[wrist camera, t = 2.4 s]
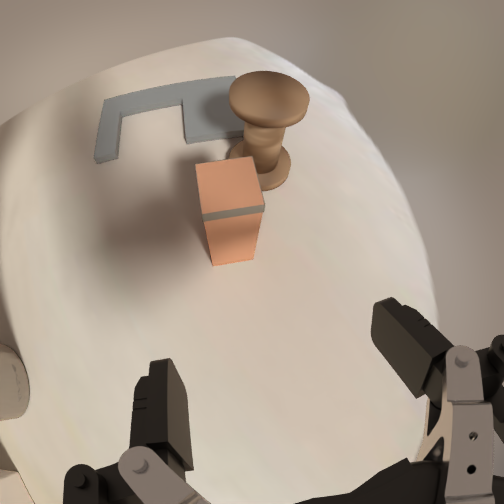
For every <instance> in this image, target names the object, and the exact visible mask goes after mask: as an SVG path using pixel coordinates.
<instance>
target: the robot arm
mask: <svg viewBox="0 0 504 504" xmlns="http://www.w3.org/2000/svg"><path fill="white" fill-rule="evenodd" d="M371 337H372V340H373V343H374V345H375V346H376V347H377V349H378V350H379V351H380V352H381V354H382V355H383V356H384V357H385V359H386V360H387V361H388V363H389V364H390V365H391V366H392V368H393V369H394V370H395V372H396V373H397V374H398V376H399V377H400V378H401V379H402V381H403V382H404V383H405V385H406V386H407V387H408V389H409V390H410V391H411V393H412V394H413V395H414V397H415V398H416V399H417V398H419V397H421V396H422V395H424V394H426V395H427V396H428V399H427V405H426V417H425V427H424V435H423V441H422V445H421V447H420V450H419V453H418V456H417V460H416V462H411V463H410V462H409V461H408V459H407V458H405V459H403V460H401V461H399V462H398V463H396V464H394V465H392V466H390V467H388V468H386V469H384V470H382V471H380V472H378V473H377V474H376V475H374V476H373V477H372V478H370V479H369V480H368V481H366V482H365V483H364V484H362V485H361V486H359V487H358V488H357V489H355V490H354V491H352V492H350V493H347V494H341V495H334V496H327V497H319V498H312V499H309V500H306V501H302V502H299V503H295V504H504V477H500V476H495V475H493V461H494V430H495V431H496V433H497V434H498V436H499V437H500V439H501V440H502V442H503V443H504V387H503V385H502V383H503V381H504V335H498V336H496V337H495V338H494V339H493V341H492V344H491V346H490V347H489V348H485V349H482V350H478V351H474V350H473V349H471V348H469V347H467V346H461V345H460V346H454V345H452V343H451V342H450V341H448V340H447V339H446V338H445V337H444V336H443V335H442V334H441V333H440V332H439V331H438V330H437V329H436V328H435V327H434V326H433V325H431V324H430V322H429V321H428V320H427V319H424V317H423V316H422V315H421V314H420V313H419V312H418V311H417V310H416V309H413V308H411V307H409V306H407V305H403V306H402V305H401V304H400V303H399V302H398V301H397V300H396V299H395V298H393V297H390V298H387V299H384V300H382V301H379V302H376V303H375V304H374V306H373V316H372V325H371ZM28 402H29V383H28V379H27V374H26V372H25V369H24V366H23V364H22V362H21V360H20V358H19V357H18V356H17V354H16V353H15V352H14V351H13V350H12V349H11V348H9V347H8V346H6V345H3V344H0V421H3V420H9V419H15V418H19V417H20V416H22V415H23V414H24V412H25V411H26V409H27V406H28ZM192 470H194V467H193V458H192V449H191V438H190V427H189V414H188V399H187V393H186V389H185V386H184V384H183V382H182V380H181V378H180V376H179V374H178V372H177V370H176V368H175V365H174V363H173V361H172V360H171V359H170V358H167V359H162V360H156V361H151V362H150V367H149V376H143V377H141V378H140V379H139V381H138V383H137V385H136V386H135V390H134V402H133V411H132V420H131V433H130V446H129V449H128V450H127V451H125V452H124V453H123V454H122V456H121V457H120V459H119V462H117V463H115V464H113V465H110V466H107V467H104V468H100V469H97V470H94V469H93V468H91V467H90V466H88V465H85V464H78V465H75V466H73V467H72V468H70V469H69V470H68V472H67V473H66V475H65V479H64V493H63V504H211V503H210V502H208V501H207V500H206V499H205V498H204V497H202V496H201V495H200V494H199V493H198V492H196V491H195V490H194V489H193V488H192V487H191V486H190V485H189V484H187V483H186V478H185V471H192Z"/></svg>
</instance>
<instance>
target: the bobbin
mask: <svg viewBox="0 0 504 504" xmlns="http://www.w3.org/2000/svg"><path fill="white" fill-rule="evenodd" d="M229 105H230V108H231V110H232V112H233V113H234V114H235V115H236V116H237V117H238V118H240V119H241V120H243V121H245V123H244V139H243V141H241V142H239V143H238V144H237V145H235V146H234V148H233V149H232V151H231V152H230V155H229V159H232V158H240V157H248V156H253V160H254V164H255V168H256V171H257V175H258V179H259V183H260V187H261V190H262V191H268V190H272V189H275V188H277V187H279V186H280V185H281V184H283V183H284V181H285V180H286V179H287V176H288V174H289V170H290V166H291V160H290V156H289V154H288V152H287V151H286V150H285V148H284V147H283V146H282V141H283V137H284V133H285V128H286V127H289V126H292V125H294V124H296V123H298V122H299V121H301V120H302V119H303V117H304V116H305V114H306V112H307V108H308V105H309V94H308V91H307V90H306V88H305V87H304V86H303V85H302V84H301V83H300V82H298V81H297V80H296V79H294V78H292V77H290V76H287V75H285V74H282V73H277V72H272V71H256V72H250V73H247V74H244V75H242V76H240V77H238V78H237V79H235V80H234V81H233V83H232V84H231V86H230V89H229Z"/></svg>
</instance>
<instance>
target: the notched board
mask: <svg viewBox="0 0 504 504" xmlns="http://www.w3.org/2000/svg"><path fill="white" fill-rule="evenodd" d="M235 79H236V77H235V76H227V77H218V78H209V79H201V80H194V81H187V82H181V83H175V84H170V85H164V86H159V87H154V88H150V89H145V90H141V91H136V92H132V93H128V94H124V95H120V96H116V97H113V98H109V99H106V100H104V104H103V108H102V113H101V118H100V123H99V129H98V134H97V140H96V146H95V153H94V160H95V161H96V163H97V164H98V163H102V162H106V161H110V160H114V159H118V152H119V141H120V131H121V123H122V117H125V116H129V115H133V114H137V113H141V112H146V111H150V110H155V109H160V108H165V107H171V106H176V105H182V104H183V112H184V124H185V135H186V142H187V144H191V143H197V142H204V141H210V140H217V139H225V138H233V137H241V136H244V123H245V121H243V120H241V119H240V118H238V117H237V116H236V115H235V114H234V113H233V112H232V110H231V108H230V105H229V89H230V86H231V84H232V83H233V81H234V80H235Z"/></svg>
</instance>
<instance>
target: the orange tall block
mask: <svg viewBox="0 0 504 504" xmlns="http://www.w3.org/2000/svg"><path fill="white" fill-rule="evenodd" d="M195 170H196V178H197V185H198V193H199V200H200V207H201V214H202V219H203V222H204V225H205V230H206V235H207V240H208V245H209V250H210V254H211V259H212V264H213V266H218V265H224V264H230V263H235V262H241V261H247V260H252V259H253V257H254V253H255V248H256V243H257V238H258V233H259V228H260V223H261V218H262V214H263V212H264V209H265V202H264V198H263V194H262V190H261V187H260V183H259V179H258V175H257V171H256V168H255V164H254V160H253V156H248V157H240V158H232V159H225V160H218V161H211V162H205V163H199V164H195Z"/></svg>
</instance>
